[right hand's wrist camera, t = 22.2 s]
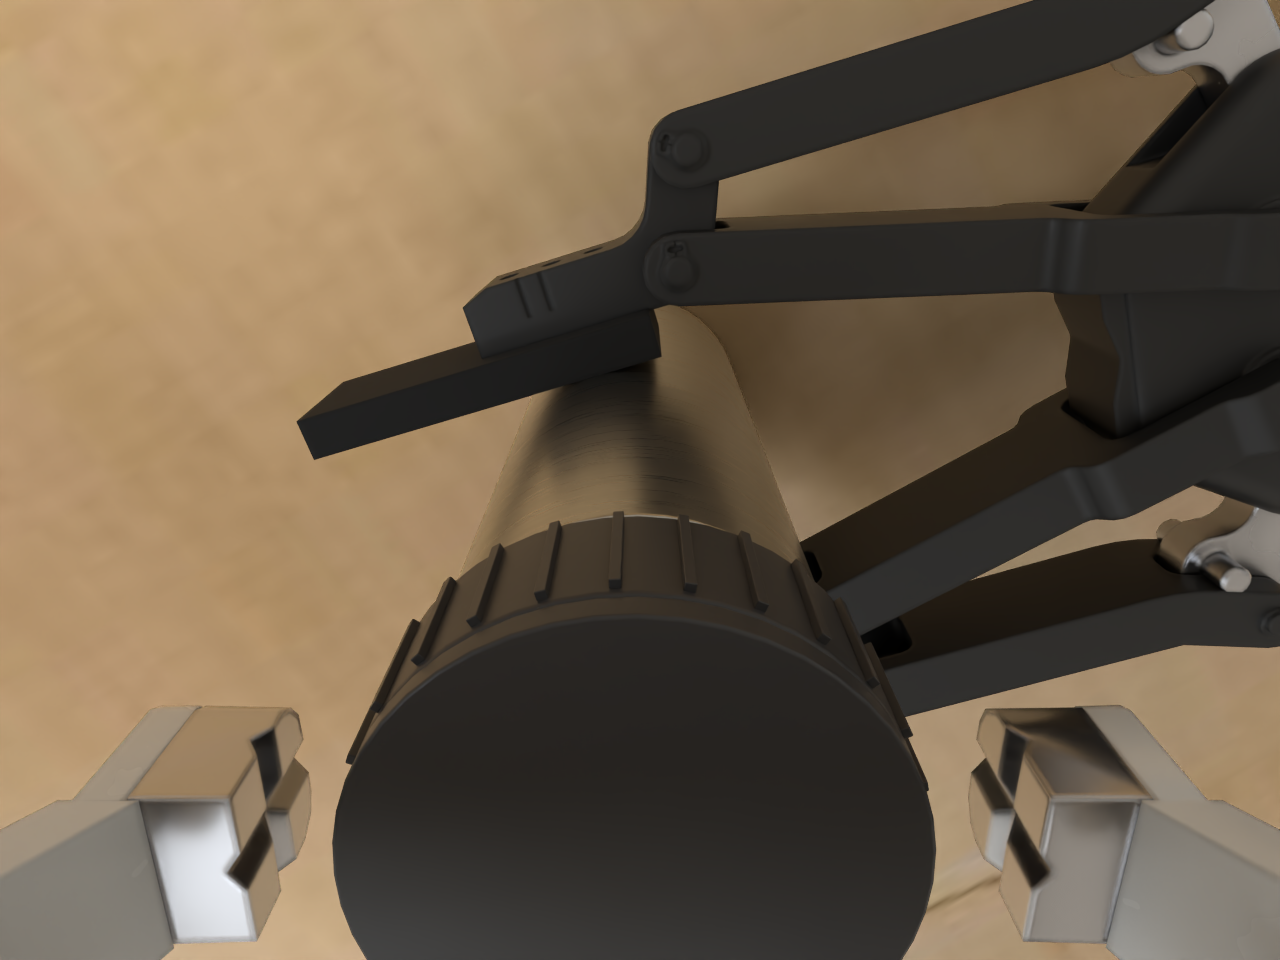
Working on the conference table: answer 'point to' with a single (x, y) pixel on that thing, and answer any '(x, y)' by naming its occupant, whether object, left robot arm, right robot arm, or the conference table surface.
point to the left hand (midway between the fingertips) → (389, 547)
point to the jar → (642, 451)
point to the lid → (634, 764)
